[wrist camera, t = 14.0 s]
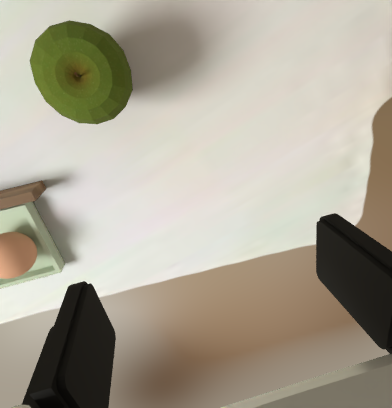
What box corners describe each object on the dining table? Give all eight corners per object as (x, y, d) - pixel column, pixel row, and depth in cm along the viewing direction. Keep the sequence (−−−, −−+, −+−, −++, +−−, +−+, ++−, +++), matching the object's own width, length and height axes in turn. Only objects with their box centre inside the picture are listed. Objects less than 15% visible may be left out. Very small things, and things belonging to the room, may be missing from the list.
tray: (-55, 219, 35) (-66, 227, 34) (30, 198, 36) (24, 204, 34) (-10, 283, 40) (-18, 293, 39) (65, 263, 41) (61, 272, 39)
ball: (-32, 240, 34) (-27, 257, 30) (19, 218, 38) (29, 231, 33) (-7, 276, 37) (0, 296, 33) (38, 252, 40) (50, 268, 36)
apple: (40, 71, 31) (-11, 66, 20) (91, 15, 29) (64, -20, 19) (101, 129, 34) (83, 150, 24) (148, 81, 33) (151, 82, 23)
